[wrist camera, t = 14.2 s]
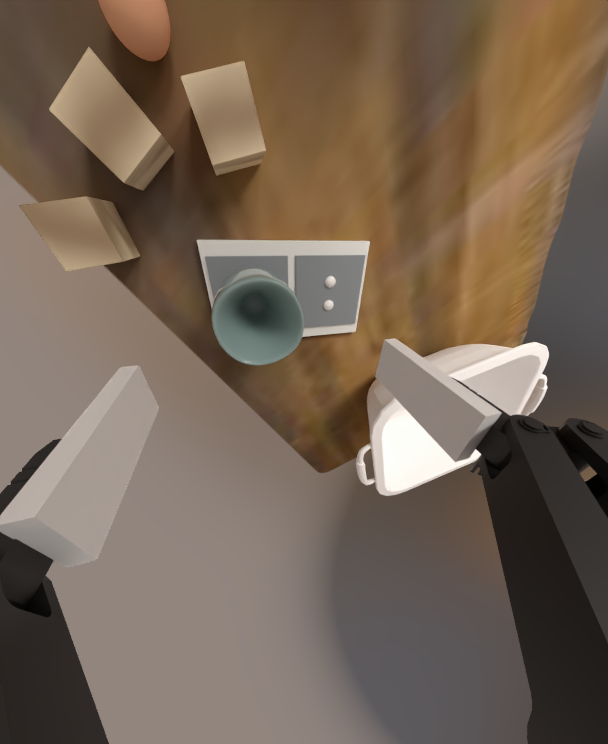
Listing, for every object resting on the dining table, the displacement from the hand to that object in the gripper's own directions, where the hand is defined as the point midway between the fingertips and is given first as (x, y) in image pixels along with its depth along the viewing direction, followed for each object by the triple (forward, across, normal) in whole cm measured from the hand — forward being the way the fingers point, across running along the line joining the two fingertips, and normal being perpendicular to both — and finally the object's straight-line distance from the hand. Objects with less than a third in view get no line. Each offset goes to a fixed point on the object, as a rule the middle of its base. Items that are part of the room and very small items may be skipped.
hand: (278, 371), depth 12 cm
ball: (+19, -6, +18) cm, 27 cm away
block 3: (+19, -1, +14) cm, 23 cm away
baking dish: (+19, +29, -21) cm, 41 cm away
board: (+19, +5, 0) cm, 19 cm away
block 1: (+19, -9, +12) cm, 24 cm away
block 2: (+14, -14, +6) cm, 21 cm away
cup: (+18, 0, 0) cm, 18 cm away
